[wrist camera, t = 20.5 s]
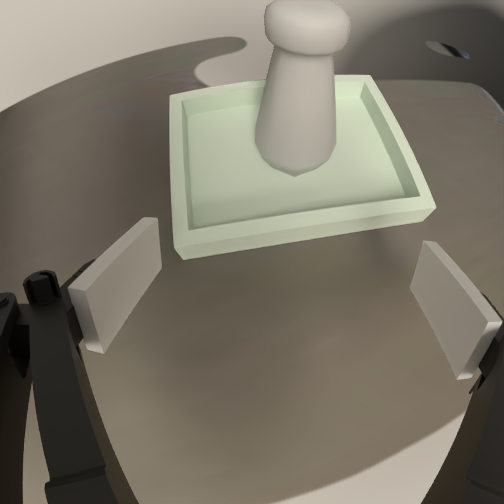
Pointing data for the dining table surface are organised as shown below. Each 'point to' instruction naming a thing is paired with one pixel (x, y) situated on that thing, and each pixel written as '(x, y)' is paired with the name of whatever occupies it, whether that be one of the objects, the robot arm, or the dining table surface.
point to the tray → (279, 183)
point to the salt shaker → (300, 84)
